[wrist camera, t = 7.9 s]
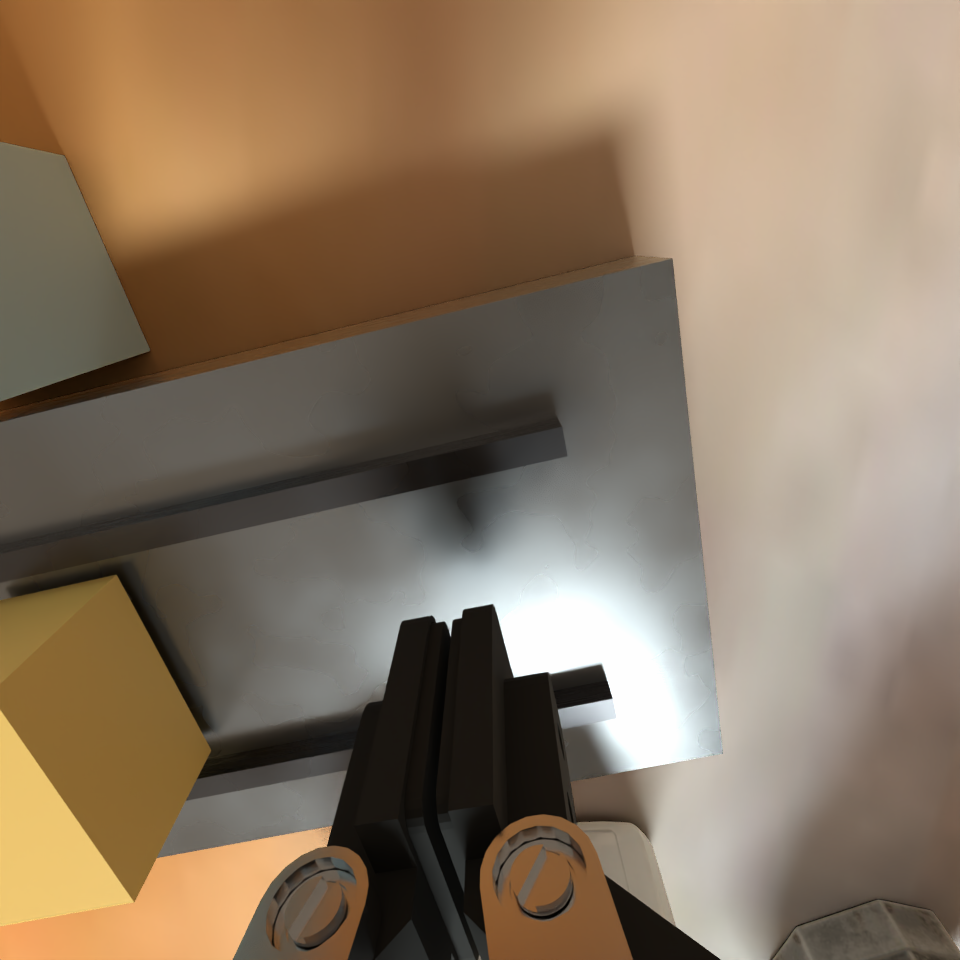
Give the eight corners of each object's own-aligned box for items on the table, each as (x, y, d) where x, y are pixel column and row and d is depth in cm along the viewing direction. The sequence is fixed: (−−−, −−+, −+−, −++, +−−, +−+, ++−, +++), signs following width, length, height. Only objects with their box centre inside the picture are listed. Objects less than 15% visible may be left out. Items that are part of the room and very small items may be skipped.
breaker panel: (635, 256, 13) (684, 259, 10) (688, 684, 17) (732, 773, 14) (-116, 439, 14) (-269, 491, 11) (113, 795, 18) (48, 897, 15)
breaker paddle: (116, 574, 12) (-11, 694, 9) (211, 750, 14) (134, 902, 11) (-16, 603, 12) (-187, 730, 9) (94, 773, 14) (-15, 929, 11)
